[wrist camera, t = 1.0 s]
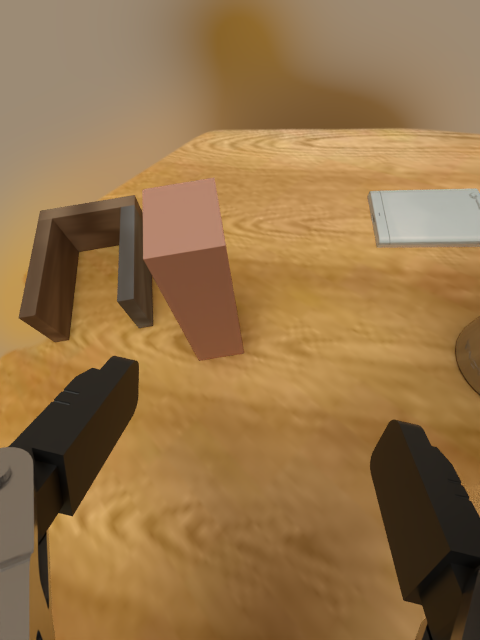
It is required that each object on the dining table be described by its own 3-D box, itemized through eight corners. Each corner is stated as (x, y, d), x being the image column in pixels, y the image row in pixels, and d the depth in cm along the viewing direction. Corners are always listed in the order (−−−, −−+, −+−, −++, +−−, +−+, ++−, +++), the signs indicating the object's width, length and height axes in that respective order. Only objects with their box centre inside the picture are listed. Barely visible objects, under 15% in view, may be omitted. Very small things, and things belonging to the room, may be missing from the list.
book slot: (150, 230, 40) (134, 195, 35) (152, 325, 33) (133, 298, 29) (68, 244, 40) (40, 210, 35) (54, 342, 33) (18, 318, 28)
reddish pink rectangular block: (236, 305, 34) (214, 177, 20) (243, 353, 31) (225, 245, 17) (194, 312, 34) (142, 189, 20) (198, 360, 31) (143, 259, 17)
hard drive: (477, 186, 38) (370, 188, 39) (499, 240, 34) (380, 241, 35) (469, 197, 39) (366, 199, 40) (489, 250, 35) (375, 250, 36)
